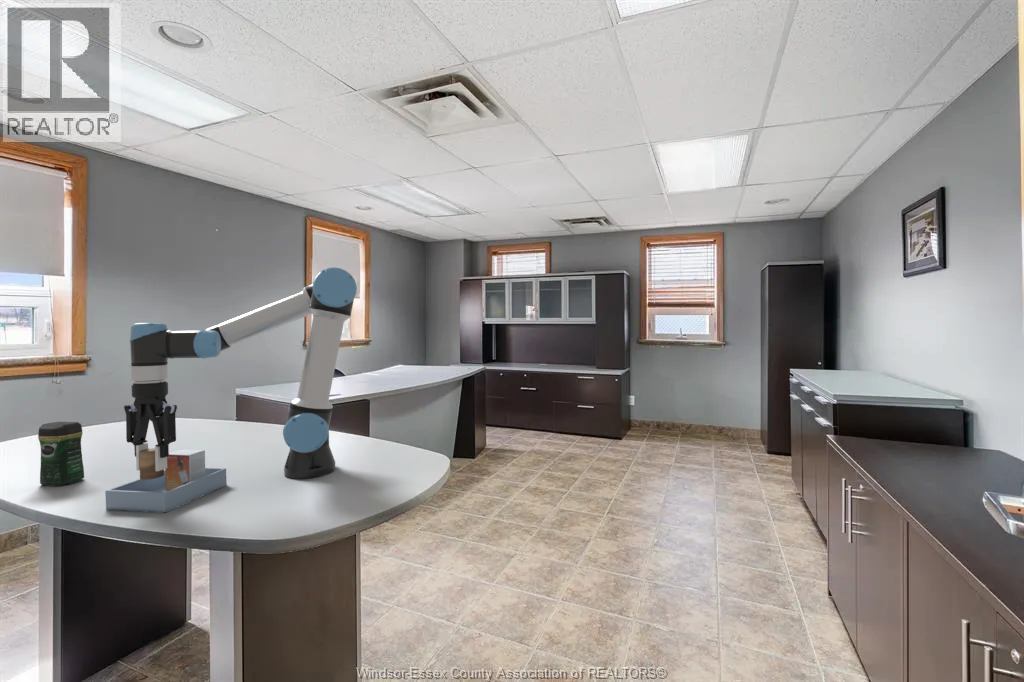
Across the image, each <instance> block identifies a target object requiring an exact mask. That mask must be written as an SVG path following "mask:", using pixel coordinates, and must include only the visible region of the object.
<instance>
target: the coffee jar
mask: <svg viewBox="0 0 1024 682" xmlns="http://www.w3.org/2000/svg"><path fill="white" fill-rule="evenodd" d="M37 434H38V435H37V439H38V440H39V445H40V471H39V474H40V475H39V483H40V485H42V486H48V485H50V486H52V487H53V486H54V487H55V486H56V487H57V486H63V485H66V484H67V485H68V484H75V483H77V481H78V482H79V481H81V480H82V479H84V478H85V470H84V467H85V466H84V463H83V461H84V460H83V453H82V452H83V451H82V437H83V428H82V424H81V423H80V422H79V421H53V422H48V423H43V424H42V425H40V426H39V428H38V433H37ZM74 482H75V483H74Z"/></svg>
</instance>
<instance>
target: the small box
mask: <svg viewBox="0 0 1024 682" xmlns="http://www.w3.org/2000/svg"><path fill="white" fill-rule="evenodd" d="M205 468H206V451H205V449H204V450H203V449H200V450H197V449H195V450H193V449H183V448H182V449H178V450H175V451H171V452H169V455H168V457H167V468H166V469H164V470H165V490H172V489H175V488H177V487H180V486H182V485H184V484H187V483H189V482H192V481H194V480H197V479H199V478H202V477H204V476H205Z"/></svg>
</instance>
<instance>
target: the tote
mask: <svg viewBox="0 0 1024 682" xmlns="http://www.w3.org/2000/svg"><path fill="white" fill-rule="evenodd" d="M225 485H226V486H228V484H227V468H222V467H221V468H220V467H219V468H218V467H217V468H216V467H205V476H204V477H202V478H199V479H197V480H194V481H192V482H189V483H187V484H184V485H182V486H180V487H177V488H175V489H172V490H165V469H164V476H162V477H159V478H155V479H149V480H141V479H140V478H138V479H135V480H131V481H129V482H126V483H123V484H121V485H118V486H114V487H112V488H110V489H106V490H105V491H104V492H105V510H106V511H117V510H127V511H126V512H136V511H147V512H146V513H155V512H167V511H169V510H171V511H173V510H175V509H177V508H176V507H178V506H180V507H181V505H182V506H184V505H186V504H188V503H187V502H189V501H191V500H193V499H195V500H197V499H199V498H198V497H200V496H202V495H204V496H205V494H206V495H208V494H207V493H209V492H211V491H213V492H215V491H217V490H219V488H220V489H222V488H223V486H224V487H226V486H225ZM221 487H222V488H221ZM216 489H217V490H216ZM214 490H215V491H214ZM211 493H212V492H211ZM209 494H210V493H209ZM202 497H203V496H202ZM196 498H197V499H196ZM200 498H201V497H200ZM193 501H194V500H193ZM191 502H192V501H191ZM185 503H186V504H185ZM189 503H190V502H189ZM183 504H184V505H183ZM174 508H175V509H174ZM178 508H179V507H178ZM172 509H173V510H172ZM169 512H170V511H169ZM167 513H168V512H167Z"/></svg>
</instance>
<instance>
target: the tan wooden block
mask: <svg viewBox="0 0 1024 682" xmlns="http://www.w3.org/2000/svg"><path fill="white" fill-rule="evenodd" d="M139 460H140V470H139V479H141V480H149V479H155V478H159V477H162V476H164V470H165V469H163V470H160V471H155V447H154V448H153V447H152V448H148V449H145V450H142V451H140V452H139Z"/></svg>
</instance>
